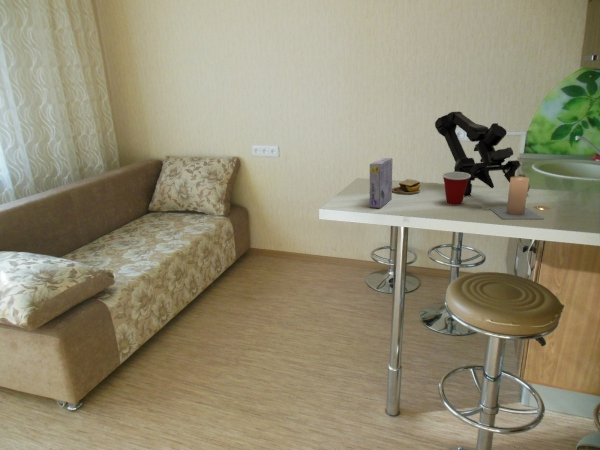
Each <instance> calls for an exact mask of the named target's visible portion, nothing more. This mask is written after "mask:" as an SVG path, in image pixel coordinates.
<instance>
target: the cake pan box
mask: <svg viewBox="0 0 600 450" xmlns="http://www.w3.org/2000/svg"><path fill="white" fill-rule="evenodd" d="M392 188H393V158H392V157H385V158H384V157H383V158H380V159H378V160H376V161H374V162H371V163H369V207H370V208H373V209H381V208H382V207H384V206H386V204H387V205H388V202H390V201H391V200H392V198H393V191H392Z"/></svg>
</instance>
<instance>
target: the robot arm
mask: <svg viewBox="0 0 600 450" xmlns="http://www.w3.org/2000/svg"><path fill="white" fill-rule="evenodd" d="M434 127H435V129H436V131H437V133H438V134H439V135H441V136H442V137H444V139H445V141H446V143H447V146H448V148H449V151H450V153H451V155H452V157H453V160H454V162H455V164H454V167H453V168H454V170H453V172H464V173H468V174H470V175H471V177H470V178H469V181H468V183H467V187H466V191H465V194H464V197H466V196H467V197H468V196H469V197H471V196H472V195H471V194H472V189H473V183H472V181H473V182H474V181H475V180H476V179H477V180H479V181H481V182H482V183H484V184H485V185H486V186H488V187H490V189H494V187H495V186H494V183H493V180H492V177H491V176H490V172H495V171H496V172H497V171H499V172H500V171H502V173H503V174H504V175H503V176H504V177H505V179H506V180H507V181H508V183H509V184H510V178H511V177H516V171H517V170H518V169H519V168H520V167H521V166H522V165H521V163H520V161H519V160H516V159H515V160H513V159H512V160H508V161H507V162H506V163H505V164H503V163H504V162H505V160H506V159H509V158H511V157H512V156H513V155H514V151H513V149H512V147H506V148H502V149H501V148H499V149H497V150H496V149H495V146H498V145H499V144H500V142H501V141H502V140H503V139H504V138H505V137H506V135H507V130H506V128H504V127H503V126H501V125H499V123H498V122H496V123H495V122H494V123H492V124H491V125H490V127H488V126H486V125H483V124H479V123H475V122H474V121H473V120H471V119H470V118H468V116H466V115H464V114H463V112H462V111H451V112H448V114H445V115H443V116H440V117H438V118H437V120H436V121H435V122H434ZM457 127H458V128H460V129H461V130H463V132H465V133H466V137H467V138H468V140H469V141H470V142H473V143H474V142H477V144H475V145H474V148H473V152H478V154H479V157H480V159H479V161H480V162H475V160H474V159H475V158H473V157H467V155H466V153H465V150H464V148H463V146H462V144H461V141H460V139H459V137H458V135H457V132H456V130H457Z"/></svg>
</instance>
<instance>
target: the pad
mask: <svg viewBox="0 0 600 450" xmlns="http://www.w3.org/2000/svg"><path fill="white" fill-rule="evenodd" d="M489 210H490V211H491V212H492V213H493V214H494V215H496V216H497V217H499V218H500V219H501V220H509V221H510V220H511V221H512V220H514V221H515V220H517V221H518V220H527V221H528V220H530V221H531V220H536V221H537V220H543V221H544V220H545V218H544V217H543V216H541V215H539V214H537V213H536V212H535V211H533V210H531V209H530V208H528V207H527V208H526V207H525V214H524V215H510V214H507V213H506V212H507V207H506V208H505V207H501V208H499V207H498V208H497V207H496V208H495V207H494V208H493V207H492V208H489Z"/></svg>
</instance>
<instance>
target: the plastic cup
mask: <svg viewBox="0 0 600 450" xmlns="http://www.w3.org/2000/svg"><path fill="white" fill-rule="evenodd" d="M441 176H442V178H443V182H444V184H443V185H444V194H445V200H446V201H445V202H446V204H448V205H452V206H460V205H462V203H463V201H464V197H465V196H464V194H465V191H466V187H467V183H468V181H469V178H470V177H471V175H470V174H468V173H464V172H454V171H447V172H444V173H442V175H441Z"/></svg>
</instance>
